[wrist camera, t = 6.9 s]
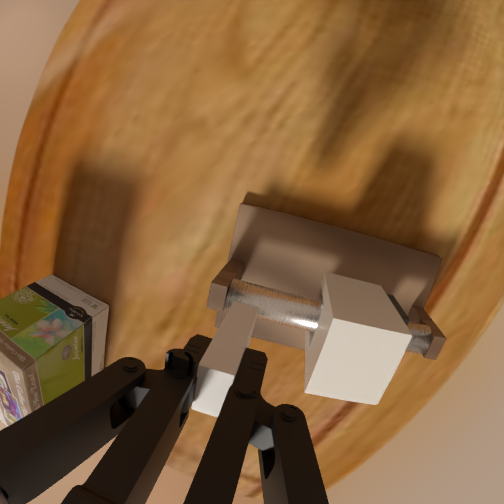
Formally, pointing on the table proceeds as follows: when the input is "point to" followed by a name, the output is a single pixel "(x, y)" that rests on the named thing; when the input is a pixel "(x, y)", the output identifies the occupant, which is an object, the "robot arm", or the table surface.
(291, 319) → the pipe
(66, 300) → the tea box
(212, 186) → the table surface
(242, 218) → the board
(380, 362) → the sleeve
